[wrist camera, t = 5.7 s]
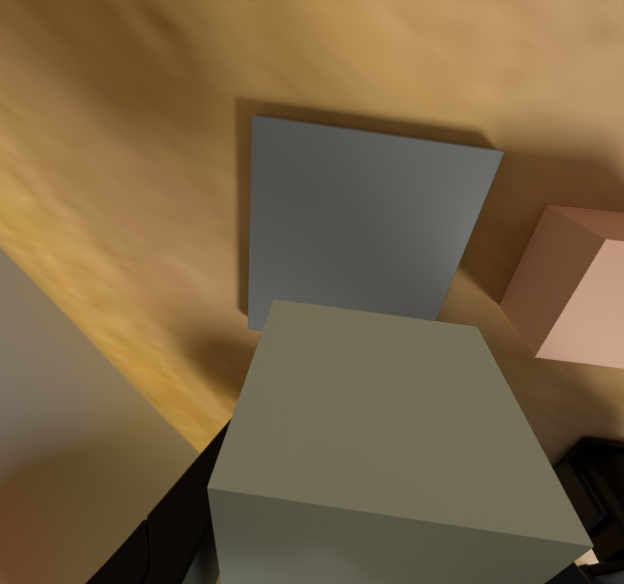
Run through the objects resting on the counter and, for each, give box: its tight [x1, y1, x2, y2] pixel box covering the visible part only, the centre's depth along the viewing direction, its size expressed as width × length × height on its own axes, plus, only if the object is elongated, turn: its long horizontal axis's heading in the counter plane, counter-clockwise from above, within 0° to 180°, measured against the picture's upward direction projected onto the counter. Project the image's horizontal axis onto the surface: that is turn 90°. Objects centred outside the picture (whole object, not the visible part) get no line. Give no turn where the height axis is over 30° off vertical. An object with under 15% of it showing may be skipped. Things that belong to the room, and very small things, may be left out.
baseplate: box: [248, 114, 504, 331], centre depth 18 cm, size 11×12×1 cm
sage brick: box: [207, 299, 594, 584], centre depth 8 cm, size 5×6×4 cm
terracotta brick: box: [499, 204, 624, 368], centre depth 16 cm, size 5×6×4 cm
